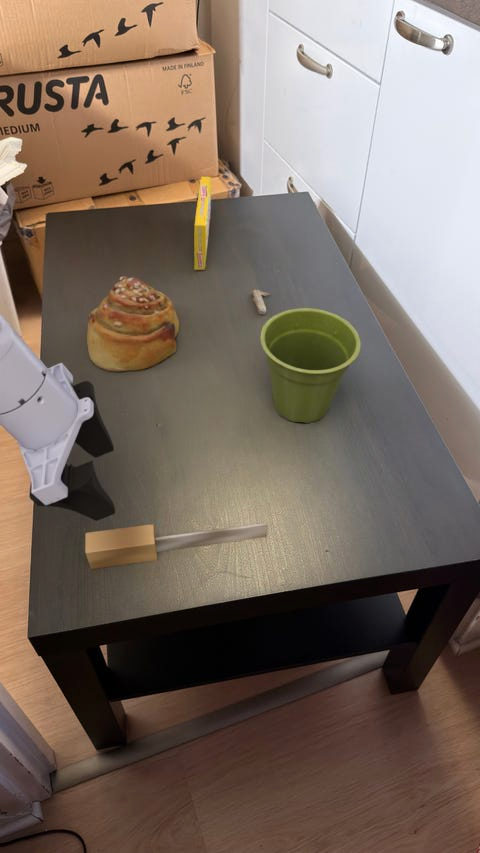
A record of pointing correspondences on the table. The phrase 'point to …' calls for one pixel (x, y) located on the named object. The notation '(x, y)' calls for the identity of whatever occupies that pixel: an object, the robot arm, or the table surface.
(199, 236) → the candy box
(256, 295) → the ginger root
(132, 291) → the pastry
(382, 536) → the table surface
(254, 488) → the table surface
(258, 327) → the table surface
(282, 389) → the plant pot
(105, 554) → the cake knife
